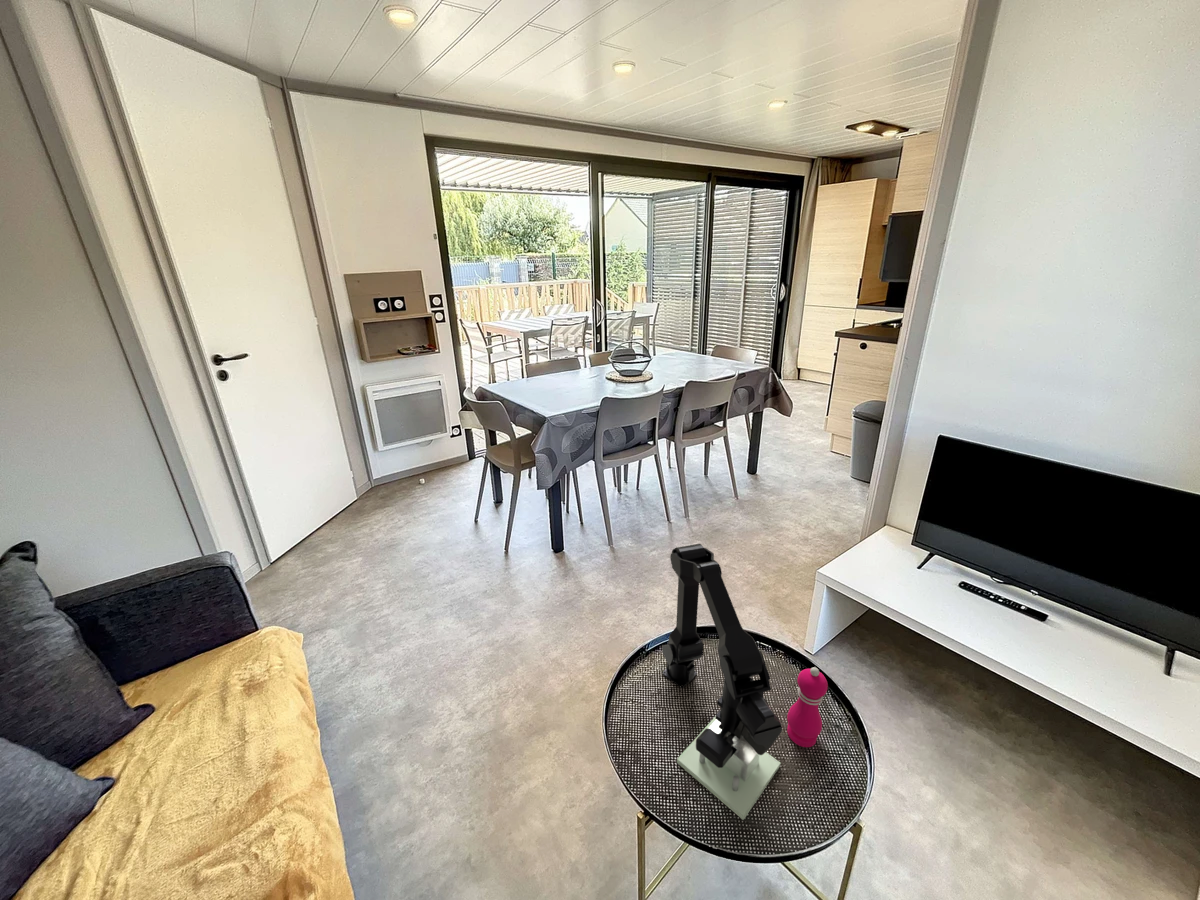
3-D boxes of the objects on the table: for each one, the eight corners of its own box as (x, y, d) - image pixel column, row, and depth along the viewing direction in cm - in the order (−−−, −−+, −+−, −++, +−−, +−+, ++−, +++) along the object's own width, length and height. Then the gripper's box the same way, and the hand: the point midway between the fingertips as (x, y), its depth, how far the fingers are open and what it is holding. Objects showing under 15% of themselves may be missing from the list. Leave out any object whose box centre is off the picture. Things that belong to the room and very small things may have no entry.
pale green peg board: (676, 762, 103) (678, 749, 102) (715, 719, 113) (717, 706, 111) (743, 820, 93) (745, 806, 91) (779, 766, 102) (782, 753, 101)
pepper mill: (824, 748, 106) (840, 681, 99) (793, 751, 106) (806, 683, 98) (809, 719, 113) (823, 654, 105) (779, 721, 112) (791, 656, 105)
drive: (757, 765, 100) (760, 748, 98) (745, 781, 97) (747, 765, 95) (714, 731, 107) (716, 715, 105) (701, 746, 104) (703, 730, 102)
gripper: (749, 758, 84) (740, 814, 90) (796, 695, 96) (786, 748, 102) (696, 717, 92) (691, 772, 98) (747, 664, 104) (739, 715, 110)
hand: (729, 752), depth 102 cm, fingers closed on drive, 5 cm apart
